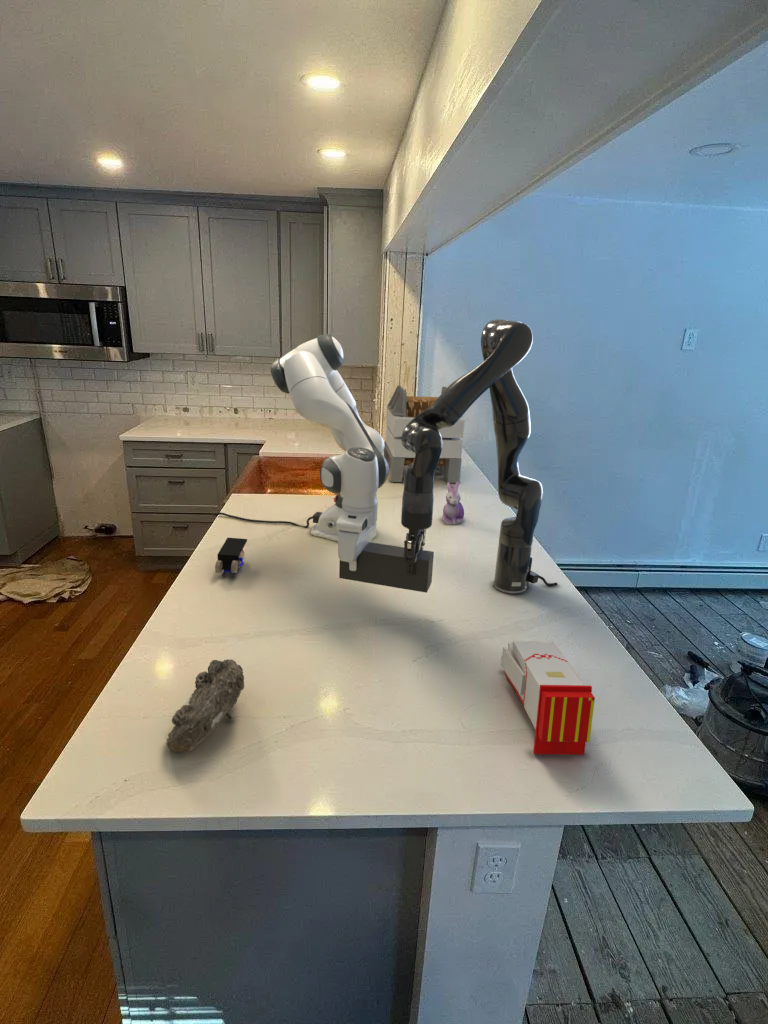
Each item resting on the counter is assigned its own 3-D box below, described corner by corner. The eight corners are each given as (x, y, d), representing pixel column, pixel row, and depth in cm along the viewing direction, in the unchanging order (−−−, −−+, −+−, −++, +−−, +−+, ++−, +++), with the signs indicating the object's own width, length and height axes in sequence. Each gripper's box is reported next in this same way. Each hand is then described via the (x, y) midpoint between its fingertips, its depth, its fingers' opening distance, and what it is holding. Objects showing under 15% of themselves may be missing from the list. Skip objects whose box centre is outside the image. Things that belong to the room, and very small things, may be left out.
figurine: (449, 526, 208) (453, 487, 203) (434, 517, 216) (437, 480, 211) (470, 523, 212) (474, 485, 207) (455, 514, 221) (458, 477, 216)
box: (339, 578, 146) (339, 547, 143) (347, 568, 151) (347, 538, 148) (426, 592, 140) (429, 561, 137) (431, 582, 145) (433, 551, 143)
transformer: (382, 463, 289) (386, 382, 275) (445, 464, 293) (451, 384, 279) (390, 482, 257) (394, 392, 243) (460, 483, 261) (468, 394, 247)
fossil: (192, 660, 117) (244, 628, 112) (224, 691, 120) (276, 661, 115) (142, 746, 98) (202, 712, 93) (182, 779, 101) (242, 748, 96)
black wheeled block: (238, 584, 162) (249, 557, 175) (236, 562, 158) (247, 536, 172) (215, 584, 161) (227, 556, 175) (212, 561, 158) (225, 535, 171)
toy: (549, 624, 127) (604, 693, 98) (544, 678, 130) (596, 762, 100) (496, 622, 127) (535, 692, 97) (491, 677, 129) (528, 761, 100)
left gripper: (360, 499, 152) (359, 547, 156) (333, 525, 133) (332, 578, 138) (383, 502, 150) (381, 550, 155) (358, 529, 132) (357, 582, 136)
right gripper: (426, 518, 129) (422, 584, 135) (438, 499, 142) (433, 560, 148) (394, 514, 131) (391, 579, 137) (409, 496, 144) (406, 556, 150)
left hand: (358, 563), depth 146 cm, fingers closed on box, 6 cm apart
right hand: (413, 569), depth 142 cm, fingers closed on box, 6 cm apart
